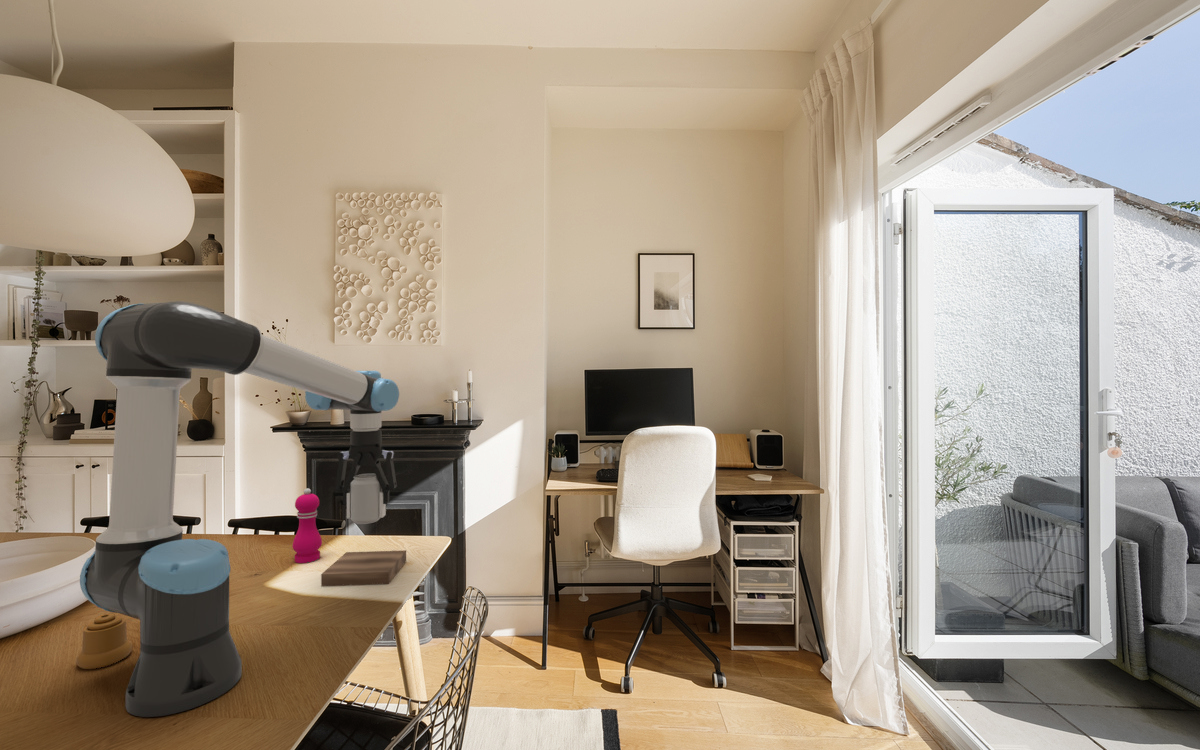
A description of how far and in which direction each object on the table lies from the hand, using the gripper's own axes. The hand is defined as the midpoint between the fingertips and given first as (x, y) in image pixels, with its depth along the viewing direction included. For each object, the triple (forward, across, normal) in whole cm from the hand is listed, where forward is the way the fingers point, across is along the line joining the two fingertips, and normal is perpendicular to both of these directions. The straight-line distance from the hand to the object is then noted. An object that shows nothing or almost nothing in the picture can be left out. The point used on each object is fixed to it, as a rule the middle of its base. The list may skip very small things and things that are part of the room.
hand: (366, 516), depth 139 cm
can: (+1, 0, 0) cm, 1 cm away
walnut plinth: (+15, 0, 0) cm, 15 cm away
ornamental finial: (+15, +33, +39) cm, 53 cm away
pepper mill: (+15, +20, -12) cm, 28 cm away
